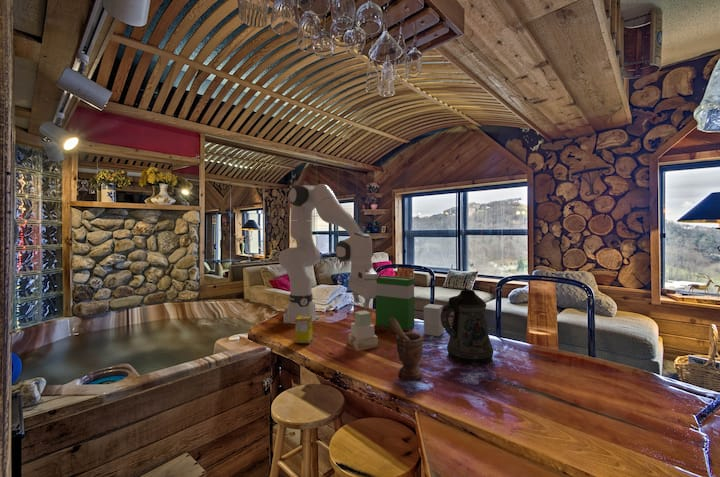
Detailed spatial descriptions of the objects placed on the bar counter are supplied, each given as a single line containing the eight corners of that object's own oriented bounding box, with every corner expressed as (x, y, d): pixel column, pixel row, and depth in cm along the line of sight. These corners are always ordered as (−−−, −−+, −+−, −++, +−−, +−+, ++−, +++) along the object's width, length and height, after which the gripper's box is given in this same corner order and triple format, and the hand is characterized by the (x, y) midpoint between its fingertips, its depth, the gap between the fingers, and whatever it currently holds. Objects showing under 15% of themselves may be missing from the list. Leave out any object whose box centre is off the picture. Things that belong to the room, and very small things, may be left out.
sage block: (354, 323, 133) (354, 311, 133) (365, 322, 135) (364, 310, 135) (360, 327, 129) (360, 314, 128) (370, 325, 131) (370, 313, 131)
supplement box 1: (312, 339, 139) (312, 315, 139) (309, 344, 133) (308, 319, 133) (299, 339, 140) (299, 314, 139) (295, 344, 134) (294, 318, 133)
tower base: (348, 344, 134) (348, 333, 134) (367, 340, 138) (367, 330, 138) (358, 351, 126) (358, 340, 126) (377, 347, 130) (377, 336, 130)
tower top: (350, 333, 134) (350, 323, 134) (367, 331, 137) (367, 321, 137) (357, 339, 127) (357, 328, 127) (374, 336, 130) (374, 325, 130)
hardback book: (375, 324, 160) (375, 277, 159) (382, 320, 166) (382, 275, 166) (408, 330, 151) (408, 280, 150) (414, 326, 157) (414, 277, 156)
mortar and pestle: (405, 387, 97) (405, 323, 96) (384, 378, 103) (384, 317, 103) (428, 375, 104) (428, 315, 104) (407, 367, 111) (407, 310, 110)
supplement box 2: (444, 332, 148) (444, 305, 147) (438, 336, 141) (438, 308, 141) (428, 329, 152) (428, 303, 151) (423, 334, 145) (423, 306, 145)
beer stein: (500, 356, 120) (500, 290, 119) (479, 373, 106) (479, 299, 105) (458, 345, 131) (458, 285, 131) (434, 359, 117) (434, 292, 116)
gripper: (345, 268, 140) (344, 299, 140) (365, 276, 121) (364, 311, 122) (358, 268, 142) (357, 298, 143) (379, 275, 124) (379, 310, 124)
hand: (361, 304), depth 132 cm, fingers open, 8 cm apart
